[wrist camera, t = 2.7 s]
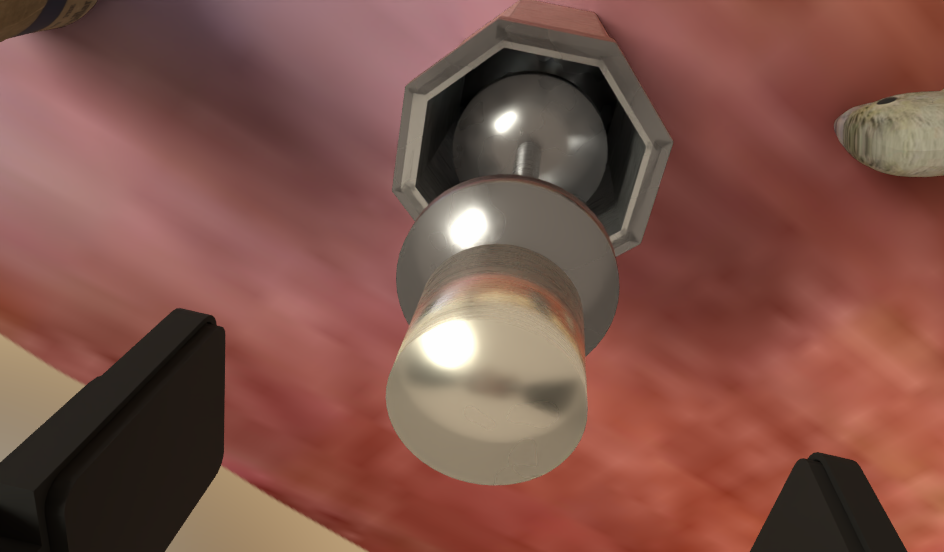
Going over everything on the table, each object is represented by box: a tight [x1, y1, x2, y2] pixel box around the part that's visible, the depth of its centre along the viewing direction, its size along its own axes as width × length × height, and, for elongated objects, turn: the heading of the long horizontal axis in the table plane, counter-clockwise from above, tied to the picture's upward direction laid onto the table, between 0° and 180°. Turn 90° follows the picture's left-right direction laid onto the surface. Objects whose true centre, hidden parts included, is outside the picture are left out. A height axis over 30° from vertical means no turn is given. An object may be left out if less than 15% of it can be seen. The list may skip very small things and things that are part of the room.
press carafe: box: [392, 0, 673, 257], centre depth 29 cm, size 11×9×12 cm
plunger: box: [386, 71, 619, 485], centre depth 18 cm, size 6×6×16 cm
